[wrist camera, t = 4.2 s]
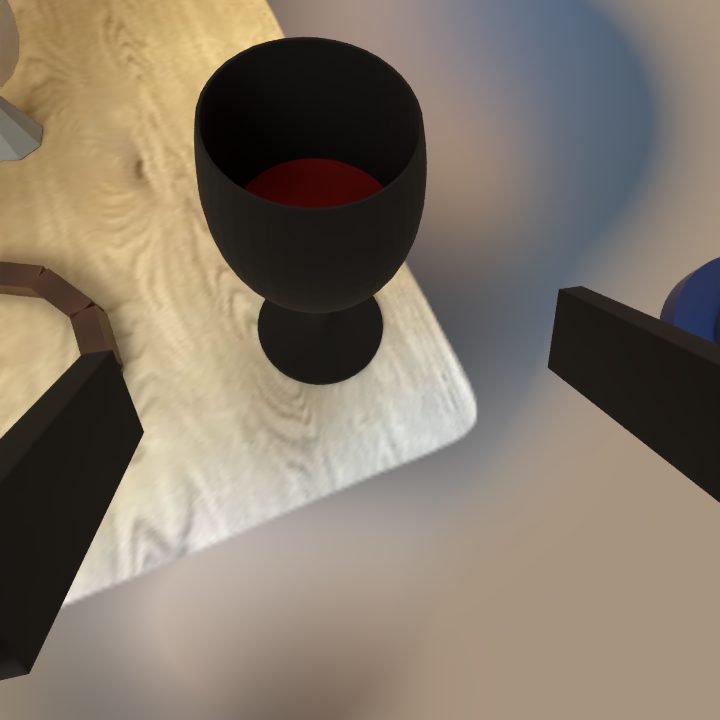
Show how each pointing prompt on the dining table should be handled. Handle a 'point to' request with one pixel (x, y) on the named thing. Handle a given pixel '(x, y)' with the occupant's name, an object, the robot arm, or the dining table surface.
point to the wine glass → (312, 193)
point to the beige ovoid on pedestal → (3, 120)
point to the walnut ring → (62, 304)
